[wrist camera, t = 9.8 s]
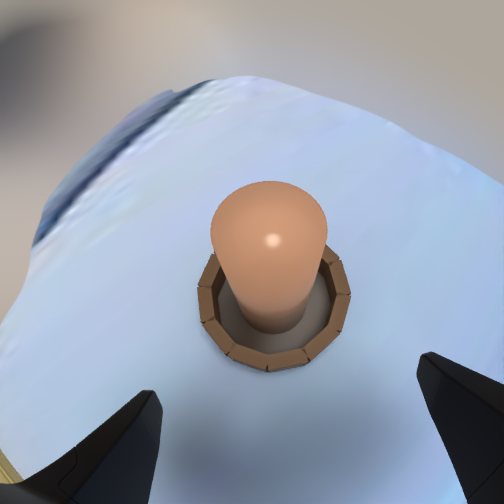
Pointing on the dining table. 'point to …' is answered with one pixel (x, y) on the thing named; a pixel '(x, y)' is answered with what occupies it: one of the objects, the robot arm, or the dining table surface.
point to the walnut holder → (279, 345)
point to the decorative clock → (8, 471)
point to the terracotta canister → (270, 251)
